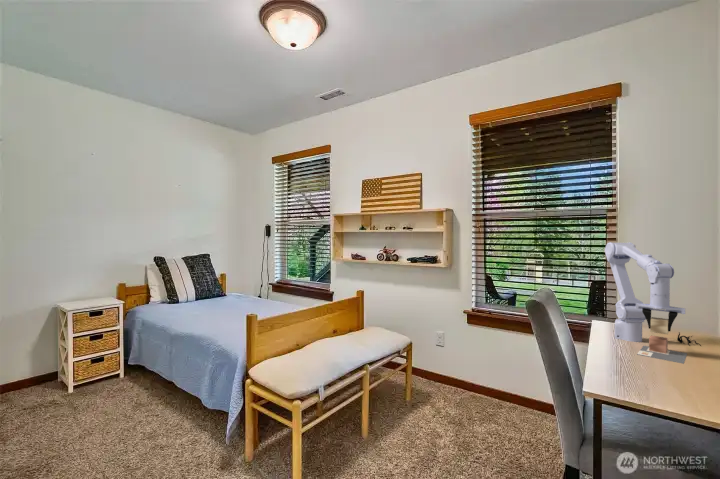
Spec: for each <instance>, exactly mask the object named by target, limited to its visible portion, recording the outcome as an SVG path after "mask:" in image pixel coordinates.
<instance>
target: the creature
mask: <svg viewBox="0 0 720 479" xmlns="http://www.w3.org/2000/svg"><path fill="white" fill-rule="evenodd" d="M680 335H681V332H678V334H677V341H678V342H679V343H680V344H682V345H683V344H685V341H684V340H683V338H684V339H686V341H687V345H688V346H689V347H691V345H690V344H692V343H693V342H694V344H695V345H699V346H700V347H702V345H701V344H700V343H698V342H697V341H696V340H694V339H692V337H693V335H691V336H686V335H681V336H680ZM691 339H692V340H691ZM685 345H686V344H685Z"/></svg>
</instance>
